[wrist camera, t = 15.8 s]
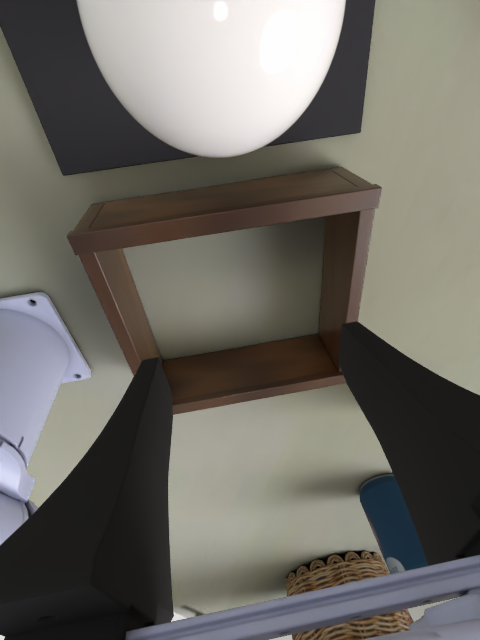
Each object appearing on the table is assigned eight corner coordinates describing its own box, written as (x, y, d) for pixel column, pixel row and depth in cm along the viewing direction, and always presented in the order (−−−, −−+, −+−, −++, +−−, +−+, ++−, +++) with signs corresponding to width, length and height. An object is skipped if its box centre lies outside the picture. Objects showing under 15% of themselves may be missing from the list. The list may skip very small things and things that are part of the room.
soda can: (346, 494, 47) (387, 600, 37) (376, 469, 43) (430, 579, 34) (382, 497, 49) (429, 597, 40) (413, 473, 46) (472, 577, 36)
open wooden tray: (155, 370, 27) (151, 419, 23) (90, 202, 18) (65, 235, 14) (327, 340, 27) (350, 382, 23) (342, 164, 19) (382, 187, 15)
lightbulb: (297, 2, 14) (488, -121, 5) (232, 149, 17) (283, 226, 8) (154, -117, 11) (65, -713, 3) (108, 80, 15) (-3, 84, 6)
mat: (65, 173, 17) (62, 176, 17) (-45, -94, 11) (-53, -100, 11) (357, 131, 18) (360, 132, 17) (385, -138, 12) (392, -145, 12)
